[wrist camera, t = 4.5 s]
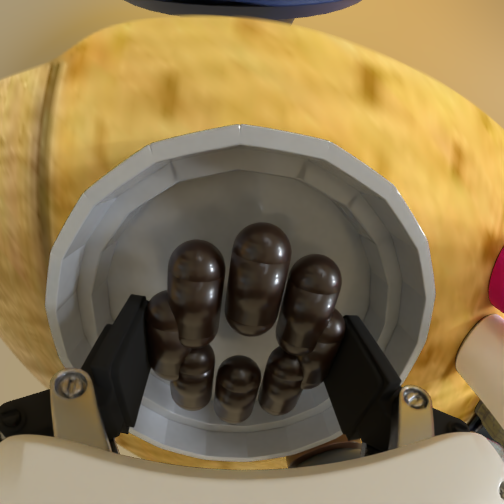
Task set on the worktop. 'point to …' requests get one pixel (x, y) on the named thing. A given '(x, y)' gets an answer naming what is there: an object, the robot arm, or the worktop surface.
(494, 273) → the pepper mill
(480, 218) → the worktop surface
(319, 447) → the ball stand
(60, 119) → the worktop surface
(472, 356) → the can
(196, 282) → the chocolate capsule cluster
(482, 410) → the moai statue figurine
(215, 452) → the bowl
